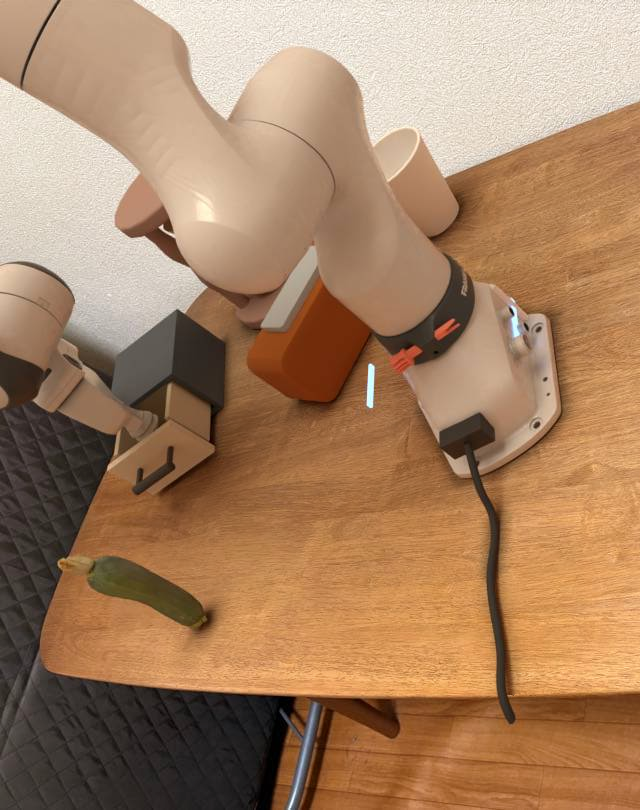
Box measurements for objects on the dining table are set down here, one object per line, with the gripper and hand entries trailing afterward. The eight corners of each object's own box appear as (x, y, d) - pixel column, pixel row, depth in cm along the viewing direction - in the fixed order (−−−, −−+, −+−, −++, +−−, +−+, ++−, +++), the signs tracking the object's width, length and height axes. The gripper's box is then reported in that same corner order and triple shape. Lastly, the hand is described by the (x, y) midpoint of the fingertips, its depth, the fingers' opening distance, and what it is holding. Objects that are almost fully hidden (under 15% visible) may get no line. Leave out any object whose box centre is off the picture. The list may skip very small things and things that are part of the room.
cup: (446, 252, 117) (388, 191, 108) (394, 248, 125) (337, 192, 116) (486, 186, 120) (433, 122, 112) (434, 187, 128) (381, 127, 120)
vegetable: (199, 604, 105) (52, 541, 92) (224, 594, 104) (78, 528, 90) (192, 637, 103) (40, 578, 89) (217, 628, 101) (66, 565, 87)
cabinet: (223, 407, 128) (171, 373, 121) (159, 453, 131) (105, 422, 124) (224, 342, 139) (177, 308, 132) (166, 386, 142) (116, 355, 135)
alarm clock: (370, 266, 126) (317, 216, 118) (408, 264, 121) (354, 211, 113) (295, 404, 117) (232, 360, 110) (332, 408, 112) (268, 362, 104)
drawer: (213, 474, 118) (167, 448, 112) (151, 519, 121) (103, 495, 115) (216, 384, 131) (175, 357, 125) (160, 426, 134) (117, 401, 128)
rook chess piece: (136, 447, 120) (86, 420, 115) (141, 424, 123) (93, 396, 118) (158, 434, 119) (108, 405, 114) (162, 410, 122) (114, 381, 117)
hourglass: (241, 348, 134) (104, 249, 117) (246, 281, 146) (122, 182, 129) (325, 291, 129) (194, 179, 112) (323, 226, 141) (205, 115, 124)
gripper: (13, 364, 117) (101, 413, 126) (43, 411, 102) (139, 463, 112) (43, 328, 118) (128, 380, 127) (77, 370, 103) (170, 425, 113)
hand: (134, 419), depth 119 cm, fingers closed on rook chess piece, 3 cm apart
